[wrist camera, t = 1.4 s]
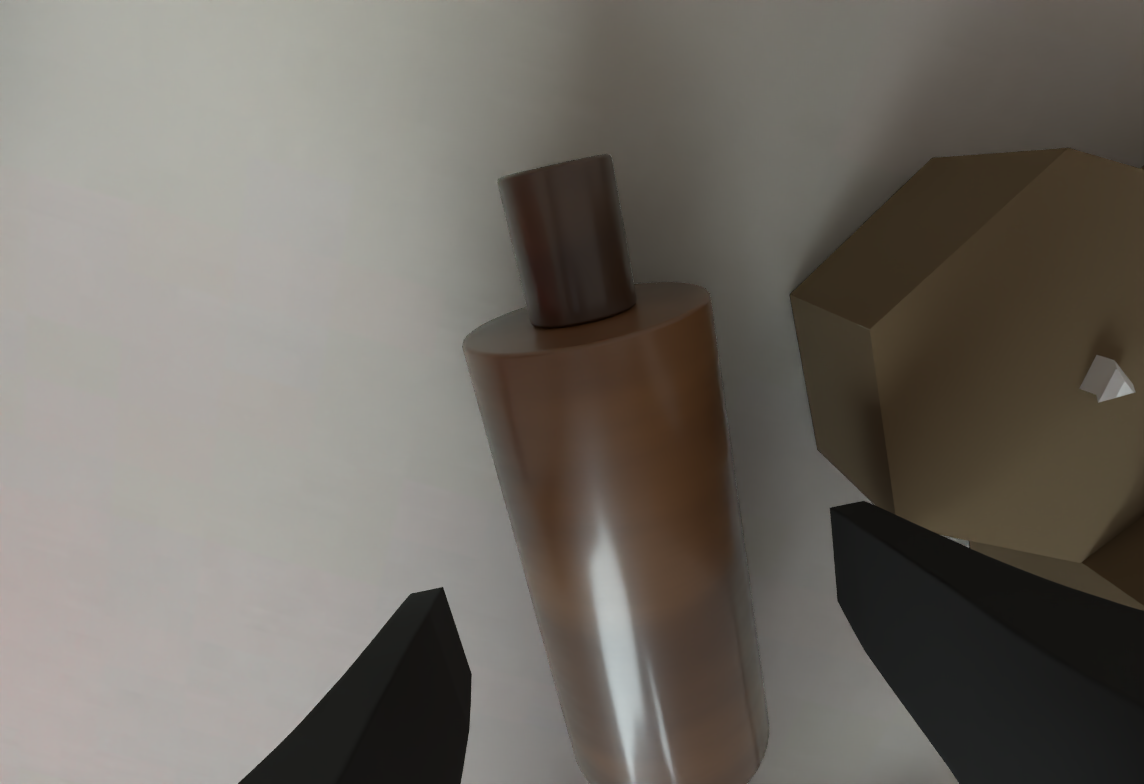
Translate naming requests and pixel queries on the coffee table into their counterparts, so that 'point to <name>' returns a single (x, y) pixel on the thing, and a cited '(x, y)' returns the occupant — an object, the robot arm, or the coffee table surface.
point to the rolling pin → (621, 491)
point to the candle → (994, 361)
